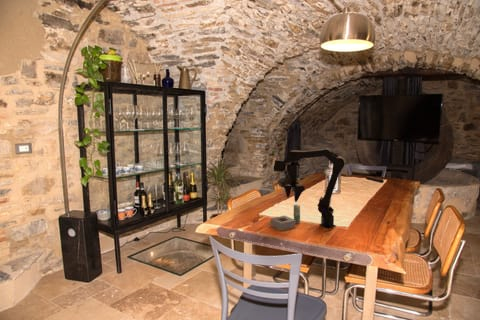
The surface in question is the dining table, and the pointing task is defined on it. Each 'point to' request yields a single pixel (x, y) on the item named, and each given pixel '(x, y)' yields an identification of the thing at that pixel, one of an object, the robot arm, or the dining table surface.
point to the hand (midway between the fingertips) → (291, 199)
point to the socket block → (282, 223)
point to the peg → (297, 213)
